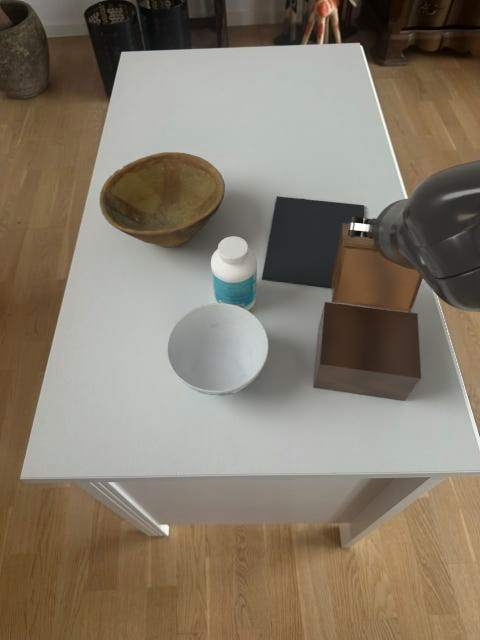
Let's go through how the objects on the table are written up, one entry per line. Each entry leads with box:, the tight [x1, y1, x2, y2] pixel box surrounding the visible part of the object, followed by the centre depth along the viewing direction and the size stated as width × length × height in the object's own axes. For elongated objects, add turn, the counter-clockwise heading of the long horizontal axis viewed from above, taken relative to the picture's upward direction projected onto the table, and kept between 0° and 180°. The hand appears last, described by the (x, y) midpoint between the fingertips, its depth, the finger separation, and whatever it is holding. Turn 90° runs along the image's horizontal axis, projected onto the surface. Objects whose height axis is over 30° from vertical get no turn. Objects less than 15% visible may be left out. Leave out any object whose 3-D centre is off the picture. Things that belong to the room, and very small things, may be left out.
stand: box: [312, 301, 422, 402], centre depth 68 cm, size 14×11×8 cm
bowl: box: [99, 151, 226, 248], centre depth 84 cm, size 22×23×10 cm
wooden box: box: [331, 223, 424, 313], centre depth 67 cm, size 12×10×7 cm
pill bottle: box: [210, 235, 258, 311], centre depth 73 cm, size 8×7×14 cm
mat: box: [261, 195, 365, 289], centre depth 86 cm, size 18×22×1 cm
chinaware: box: [166, 302, 270, 397], centre depth 68 cm, size 15×15×8 cm
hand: (385, 230), depth 64 cm, fingers closed
